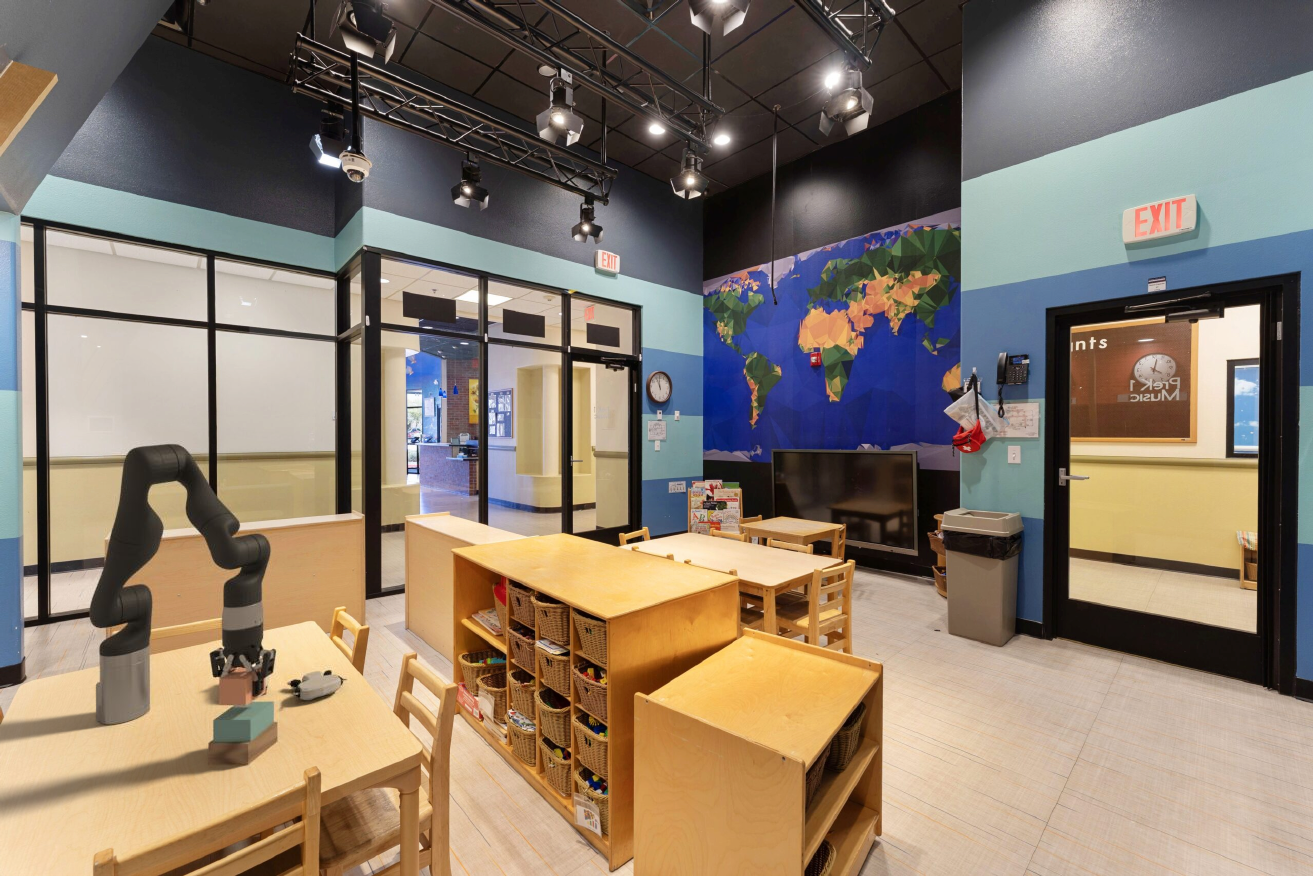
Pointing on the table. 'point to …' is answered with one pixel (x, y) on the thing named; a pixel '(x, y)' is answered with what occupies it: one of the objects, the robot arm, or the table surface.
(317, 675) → the robot toy
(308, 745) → the table surface
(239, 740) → the tower top
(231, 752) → the tower base
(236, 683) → the terracotta cube
